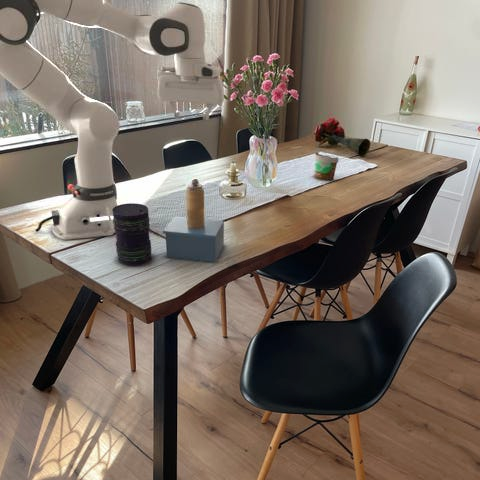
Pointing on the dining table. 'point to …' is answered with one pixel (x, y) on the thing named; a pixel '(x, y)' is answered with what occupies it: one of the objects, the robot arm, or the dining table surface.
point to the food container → (324, 167)
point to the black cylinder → (132, 234)
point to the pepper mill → (195, 205)
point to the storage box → (195, 247)
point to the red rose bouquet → (340, 137)
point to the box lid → (180, 228)
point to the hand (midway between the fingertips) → (191, 118)
